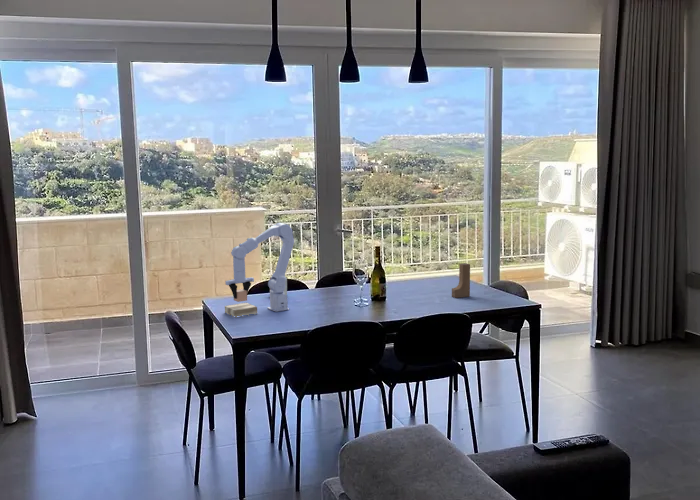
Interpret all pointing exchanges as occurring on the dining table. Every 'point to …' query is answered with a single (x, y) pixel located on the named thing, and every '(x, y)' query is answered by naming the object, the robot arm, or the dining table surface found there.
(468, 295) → the wooden block
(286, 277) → the white rounded block
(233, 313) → the birch base block
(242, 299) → the terracotta cube
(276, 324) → the dining table surface
